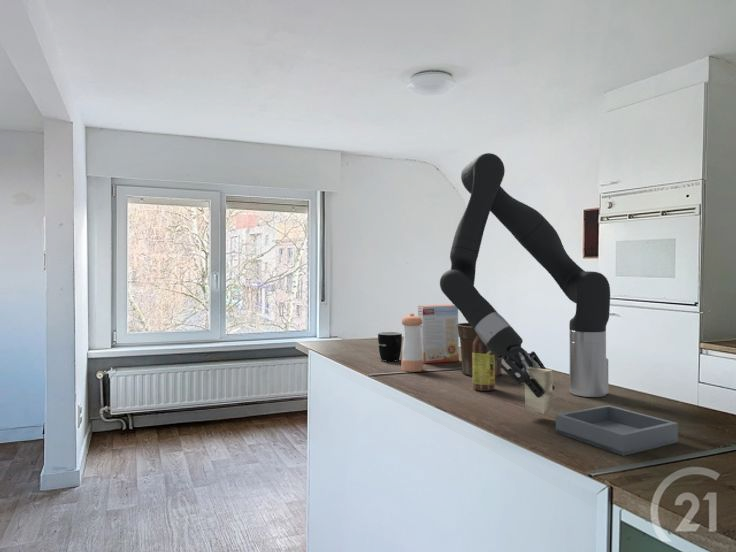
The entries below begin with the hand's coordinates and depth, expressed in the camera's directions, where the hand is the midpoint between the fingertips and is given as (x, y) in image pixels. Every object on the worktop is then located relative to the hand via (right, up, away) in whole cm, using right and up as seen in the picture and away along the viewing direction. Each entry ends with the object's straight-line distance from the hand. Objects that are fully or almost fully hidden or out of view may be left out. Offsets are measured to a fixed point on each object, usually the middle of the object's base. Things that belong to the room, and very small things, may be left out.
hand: (546, 392), depth 121 cm
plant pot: (-3, -6, +54) cm, 55 cm away
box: (+10, -6, -12) cm, 17 cm away
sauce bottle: (-7, -6, +32) cm, 34 cm away
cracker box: (-14, -6, +78) cm, 80 cm away
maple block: (-1, -4, +1) cm, 5 cm away
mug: (-31, -6, +81) cm, 87 cm away
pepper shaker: (-25, -6, +62) cm, 67 cm away
